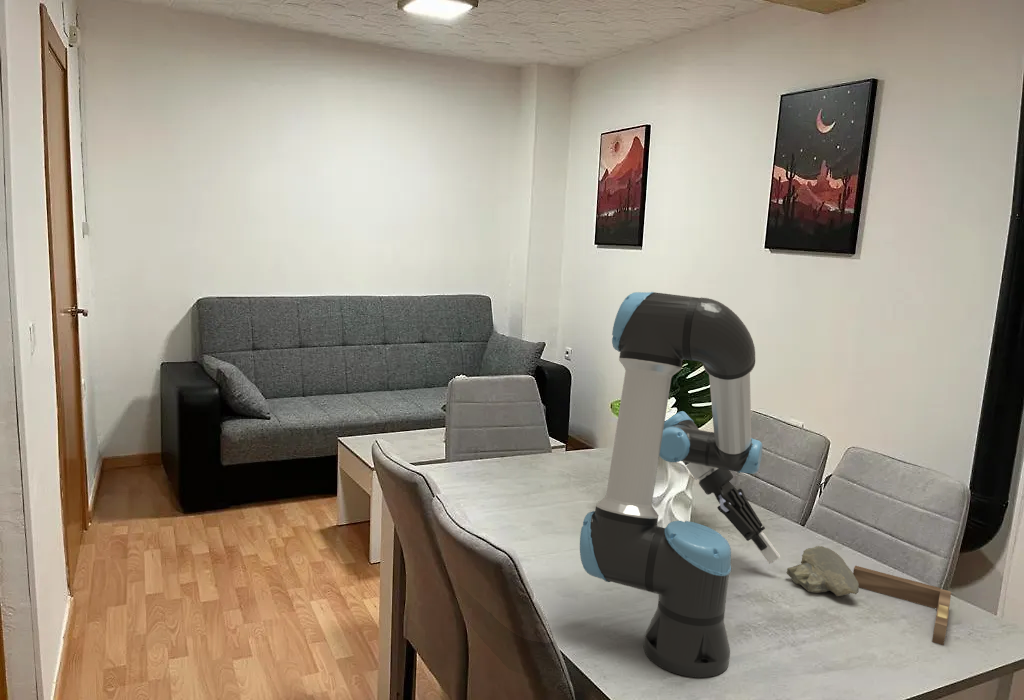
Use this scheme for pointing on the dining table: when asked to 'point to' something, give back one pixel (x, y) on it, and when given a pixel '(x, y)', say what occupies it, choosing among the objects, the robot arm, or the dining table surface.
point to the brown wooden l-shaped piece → (909, 595)
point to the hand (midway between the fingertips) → (774, 559)
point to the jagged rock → (824, 572)
